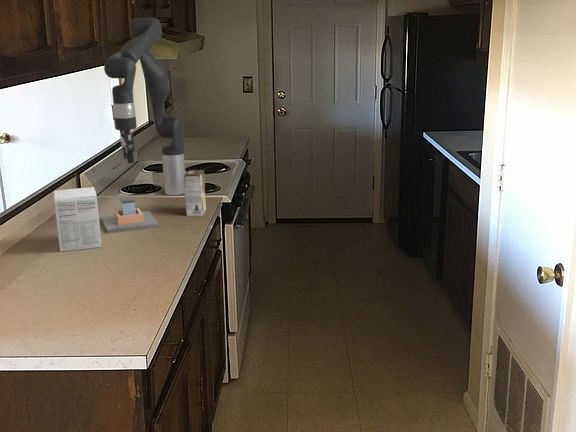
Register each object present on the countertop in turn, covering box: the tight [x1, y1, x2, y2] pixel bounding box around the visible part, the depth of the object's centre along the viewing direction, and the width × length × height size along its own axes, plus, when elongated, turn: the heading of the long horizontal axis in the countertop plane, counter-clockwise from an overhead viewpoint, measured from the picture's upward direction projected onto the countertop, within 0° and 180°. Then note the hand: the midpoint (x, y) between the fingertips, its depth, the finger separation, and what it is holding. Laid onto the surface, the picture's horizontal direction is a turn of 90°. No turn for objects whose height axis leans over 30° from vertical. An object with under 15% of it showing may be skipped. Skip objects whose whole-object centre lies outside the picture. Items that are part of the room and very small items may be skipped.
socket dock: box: [100, 207, 160, 234], centre depth 237 cm, size 18×18×4 cm
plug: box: [119, 196, 137, 216], centre depth 236 cm, size 4×4×8 cm
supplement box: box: [53, 186, 102, 253], centre depth 213 cm, size 13×13×18 cm
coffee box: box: [184, 169, 207, 217], centre depth 247 cm, size 9×6×16 cm
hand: (128, 160), depth 233 cm, fingers open, 8 cm apart
